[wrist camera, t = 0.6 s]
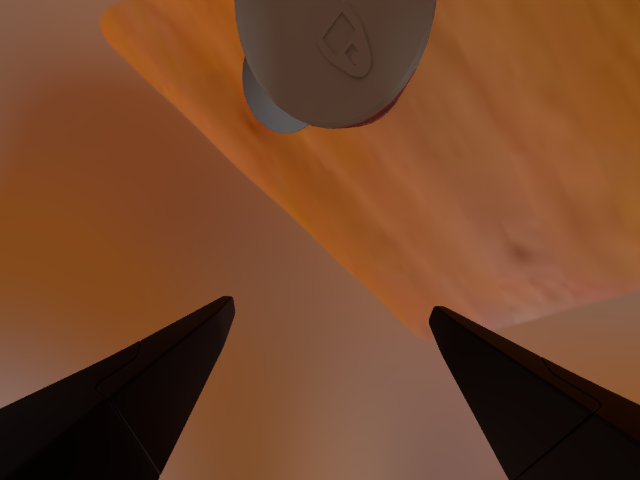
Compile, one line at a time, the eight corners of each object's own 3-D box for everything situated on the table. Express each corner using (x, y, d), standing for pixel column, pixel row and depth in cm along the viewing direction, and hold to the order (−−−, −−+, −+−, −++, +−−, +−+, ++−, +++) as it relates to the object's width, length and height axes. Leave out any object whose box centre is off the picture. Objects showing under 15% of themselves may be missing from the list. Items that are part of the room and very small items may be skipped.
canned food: (368, 144, 20) (355, 162, 11) (293, 92, 20) (209, 62, 10) (433, 46, 16) (504, -65, 7) (341, -21, 16) (277, -239, 6)
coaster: (321, 15, 17) (321, 14, 17) (328, 129, 20) (328, 129, 20) (234, 36, 19) (233, 35, 19) (253, 136, 23) (252, 136, 22)
